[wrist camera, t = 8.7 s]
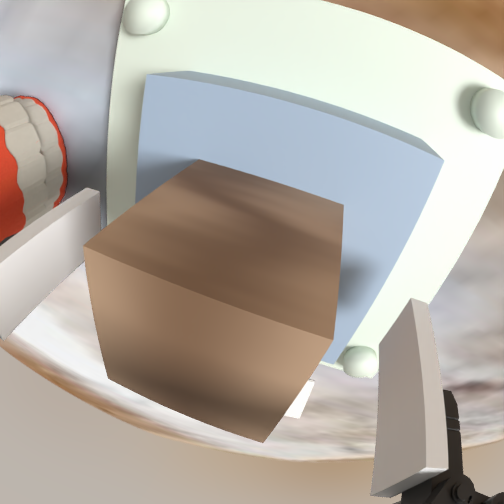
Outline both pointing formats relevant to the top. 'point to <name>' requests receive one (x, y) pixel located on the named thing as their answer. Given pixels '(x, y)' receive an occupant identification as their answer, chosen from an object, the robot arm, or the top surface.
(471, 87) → the build plate
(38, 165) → the toy
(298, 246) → the walnut block
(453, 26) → the top surface
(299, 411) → the page
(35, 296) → the robot arm
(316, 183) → the base brick
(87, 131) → the top surface
